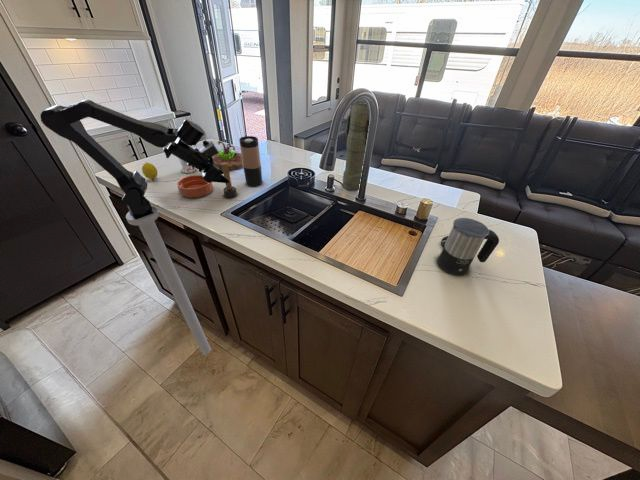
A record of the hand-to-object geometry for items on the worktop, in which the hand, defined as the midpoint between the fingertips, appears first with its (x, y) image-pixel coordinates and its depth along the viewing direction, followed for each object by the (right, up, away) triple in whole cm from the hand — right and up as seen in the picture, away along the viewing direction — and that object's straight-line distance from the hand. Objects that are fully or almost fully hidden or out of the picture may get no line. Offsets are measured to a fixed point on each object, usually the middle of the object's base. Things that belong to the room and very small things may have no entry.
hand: (225, 177), depth 102 cm
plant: (-11, +16, +32) cm, 38 cm away
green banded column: (+53, 0, +17) cm, 56 cm away
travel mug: (+8, +1, +15) cm, 17 cm away
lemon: (-38, +2, +14) cm, 41 cm away
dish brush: (0, -6, +5) cm, 8 cm away
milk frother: (+81, -31, -20) cm, 89 cm away
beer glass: (-26, +9, +23) cm, 36 cm away
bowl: (-15, -4, +7) cm, 17 cm away
